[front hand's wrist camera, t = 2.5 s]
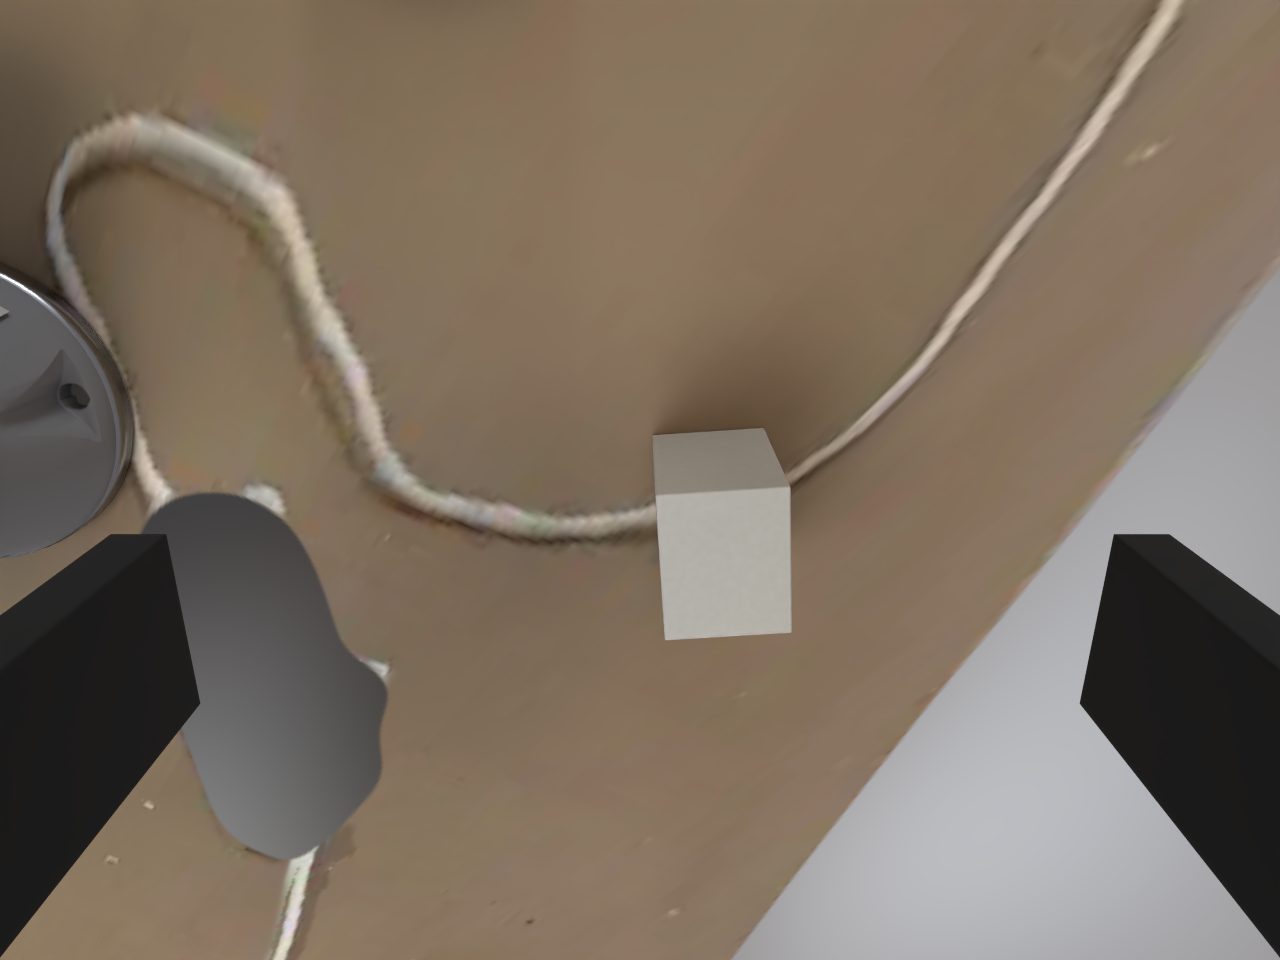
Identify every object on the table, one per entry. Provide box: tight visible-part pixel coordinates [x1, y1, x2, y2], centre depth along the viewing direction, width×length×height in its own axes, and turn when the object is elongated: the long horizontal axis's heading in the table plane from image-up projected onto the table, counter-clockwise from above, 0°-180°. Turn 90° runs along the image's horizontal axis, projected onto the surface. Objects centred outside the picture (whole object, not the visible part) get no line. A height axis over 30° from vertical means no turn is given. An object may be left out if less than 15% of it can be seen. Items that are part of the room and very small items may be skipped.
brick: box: [652, 428, 792, 640], centre depth 43 cm, size 6×7×8 cm
